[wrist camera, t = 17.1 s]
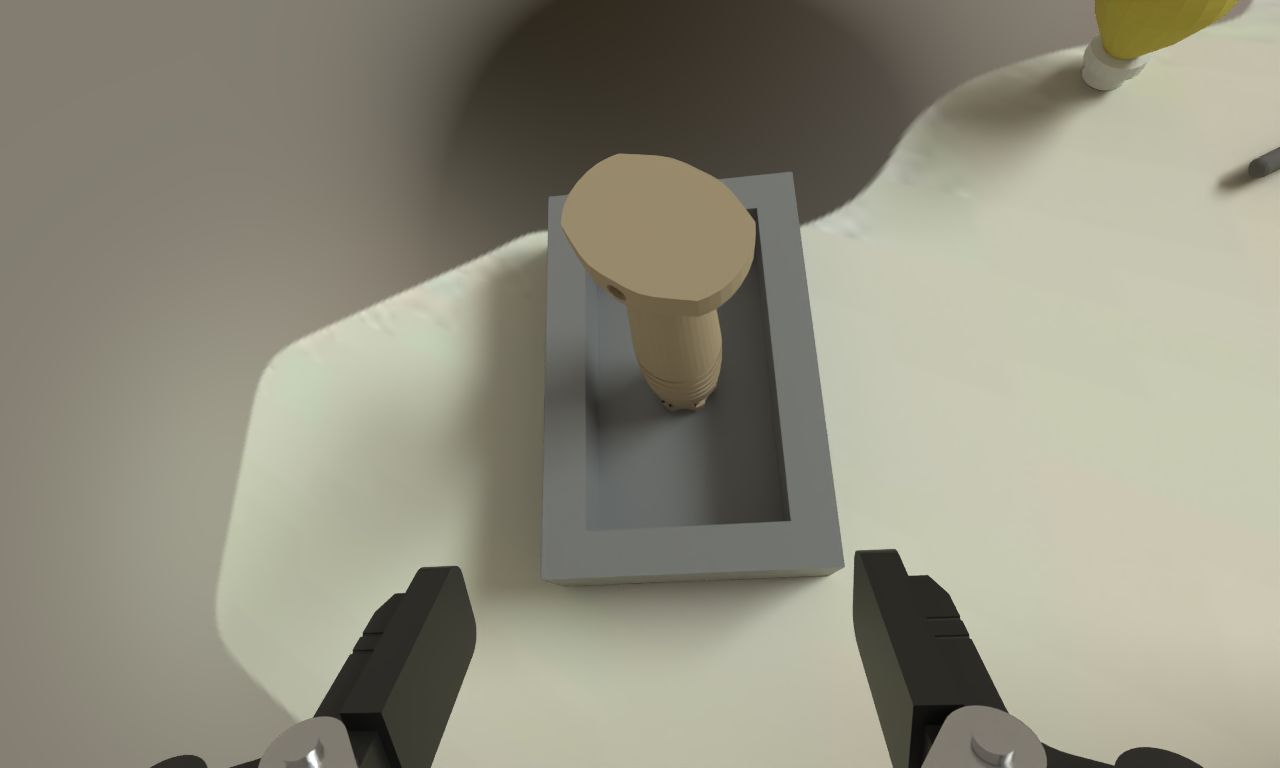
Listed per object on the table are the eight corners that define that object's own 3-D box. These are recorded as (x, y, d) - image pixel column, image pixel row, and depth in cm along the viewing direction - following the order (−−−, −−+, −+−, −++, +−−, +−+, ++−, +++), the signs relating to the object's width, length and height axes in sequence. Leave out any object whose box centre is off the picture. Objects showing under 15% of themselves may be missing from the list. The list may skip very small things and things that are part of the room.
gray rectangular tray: (829, 575, 32) (844, 567, 28) (564, 586, 34) (540, 579, 29) (785, 220, 39) (792, 171, 35) (567, 241, 41) (548, 196, 36)
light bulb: (1143, 24, 41) (1265, -155, 32) (1183, 111, 39) (1327, -56, 29) (1029, 41, 42) (1115, -130, 32) (1060, 128, 39) (1164, -30, 30)
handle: (711, 456, 34) (698, 329, 20) (609, 392, 36) (533, 235, 22) (762, 381, 35) (783, 210, 21) (661, 322, 37) (619, 131, 23)
